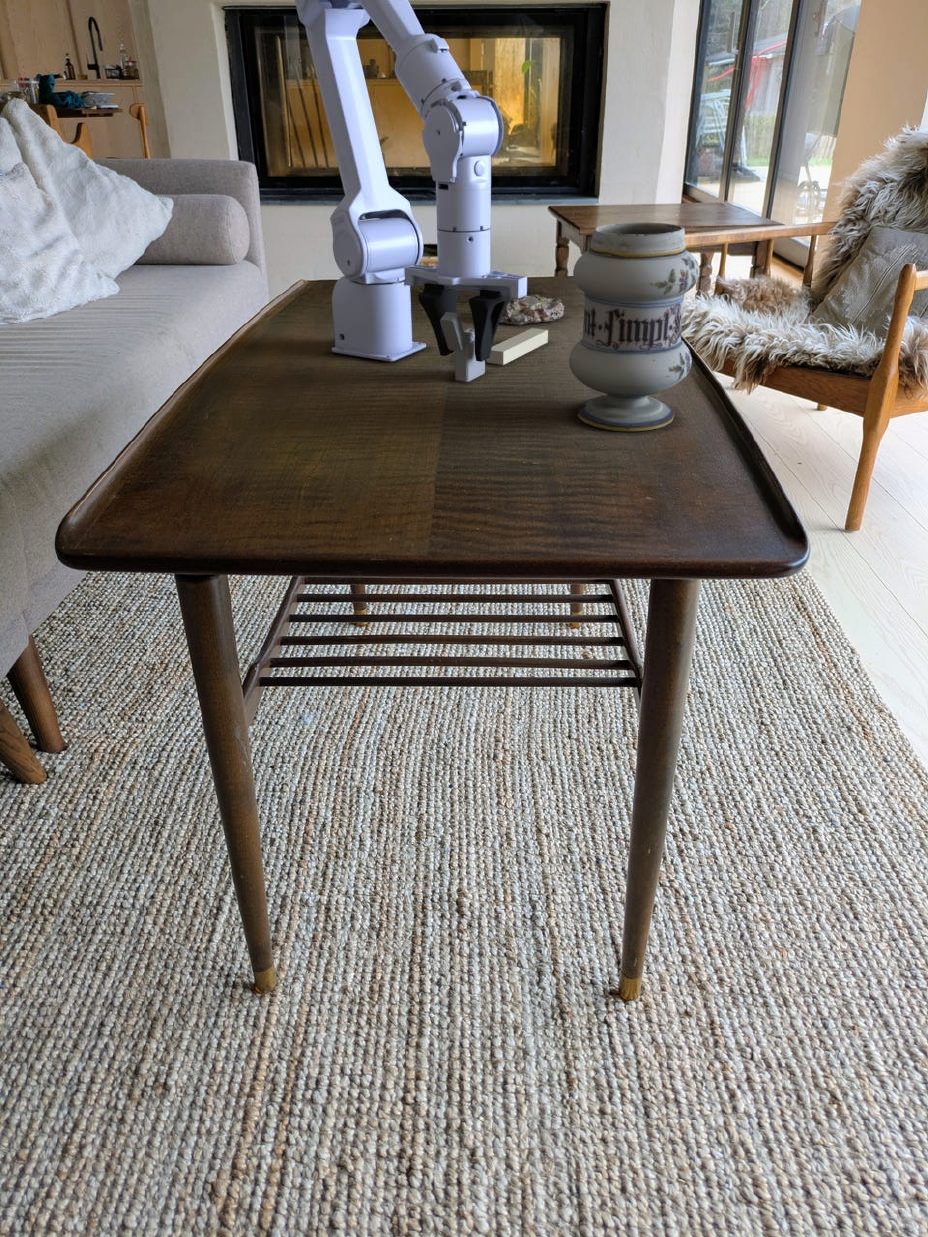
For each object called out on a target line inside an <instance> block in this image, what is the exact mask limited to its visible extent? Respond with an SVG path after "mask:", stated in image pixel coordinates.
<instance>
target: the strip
mask: <svg viewBox="0 0 928 1237" xmlns="http://www.w3.org/2000/svg"><path fill="white" fill-rule="evenodd" d="M548 343H549V329H543V328H536V327H535V328H534V327H531V328H529V329H526V330H525V331H523V332H521V333H519V334H516V335H514V336H512V337H510V338H508V339H506V340H504V341H501V342H500V343H497V344H495V345H492V349H491V354H490V358H488V359H486V360H485V363H488V364H494V365H499V366H504V365H506V364H509V363H510V362H512V361H514V360H516V359H518V358H520V357H522V356H524V355H526V354H528V353H530V352H532V351H534V350H536V349H538V348H540V347H541V346H544V345H545V344H548Z"/></svg>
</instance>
